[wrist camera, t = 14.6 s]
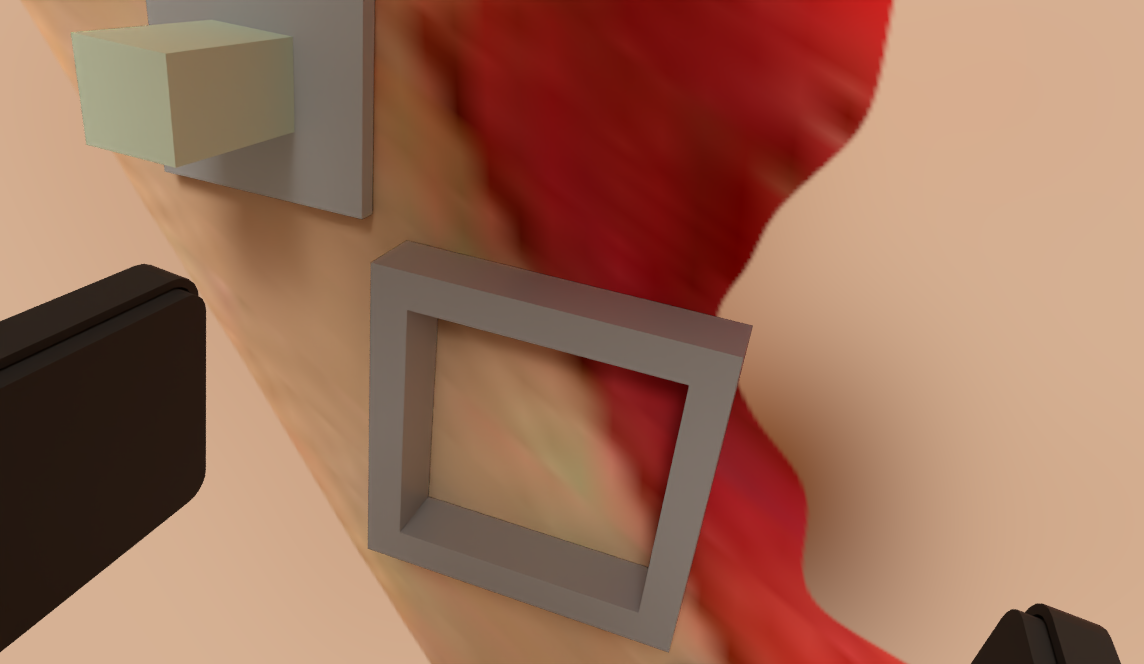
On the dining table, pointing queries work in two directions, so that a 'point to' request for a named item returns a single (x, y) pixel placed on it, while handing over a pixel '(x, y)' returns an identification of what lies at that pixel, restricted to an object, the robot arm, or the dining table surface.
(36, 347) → the robot arm
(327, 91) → the mat
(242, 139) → the green box
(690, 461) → the grey square frame
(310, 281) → the dining table surface
